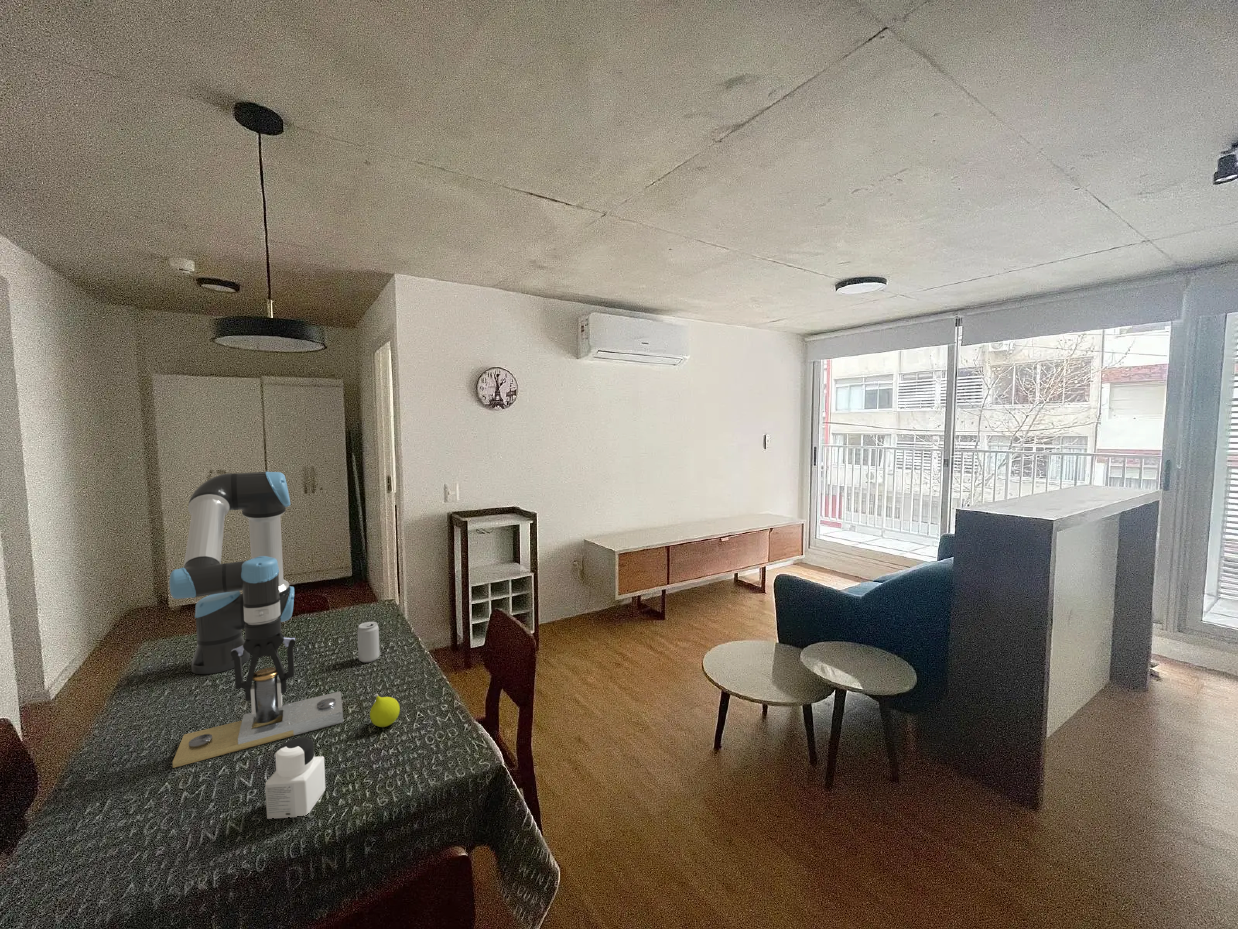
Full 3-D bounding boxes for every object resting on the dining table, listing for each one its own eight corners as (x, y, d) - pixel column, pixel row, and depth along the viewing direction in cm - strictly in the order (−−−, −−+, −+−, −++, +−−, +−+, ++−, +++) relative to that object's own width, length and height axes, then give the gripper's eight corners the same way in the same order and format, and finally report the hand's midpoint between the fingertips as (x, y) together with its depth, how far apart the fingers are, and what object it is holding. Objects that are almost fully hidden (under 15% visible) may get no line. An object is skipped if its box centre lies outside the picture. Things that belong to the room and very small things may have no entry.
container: (288, 792, 107) (285, 733, 106) (326, 789, 107) (323, 731, 107) (266, 820, 99) (262, 757, 98) (307, 817, 100) (304, 755, 99)
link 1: (184, 740, 124) (183, 732, 124) (295, 712, 137) (294, 705, 136) (172, 768, 114) (172, 759, 114) (293, 735, 126) (293, 727, 126)
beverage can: (371, 664, 165) (369, 629, 164) (354, 662, 166) (352, 627, 165) (383, 655, 171) (382, 621, 170) (367, 654, 172) (366, 620, 171)
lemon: (364, 729, 129) (362, 692, 128) (385, 714, 136) (384, 679, 135) (384, 735, 126) (383, 697, 126) (406, 720, 133) (405, 684, 132)
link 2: (244, 725, 131) (243, 712, 130) (341, 701, 142) (340, 689, 142) (238, 750, 120) (237, 736, 120) (343, 722, 132) (342, 709, 132)
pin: (255, 715, 129) (253, 670, 128) (281, 709, 132) (279, 665, 131) (253, 726, 124) (250, 680, 123) (280, 719, 127) (278, 674, 126)
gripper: (215, 632, 119) (221, 726, 120) (304, 617, 128) (308, 705, 129) (220, 622, 125) (225, 711, 127) (304, 608, 134) (308, 692, 136)
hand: (267, 708), depth 128 cm, fingers closed on pin, 5 cm apart
